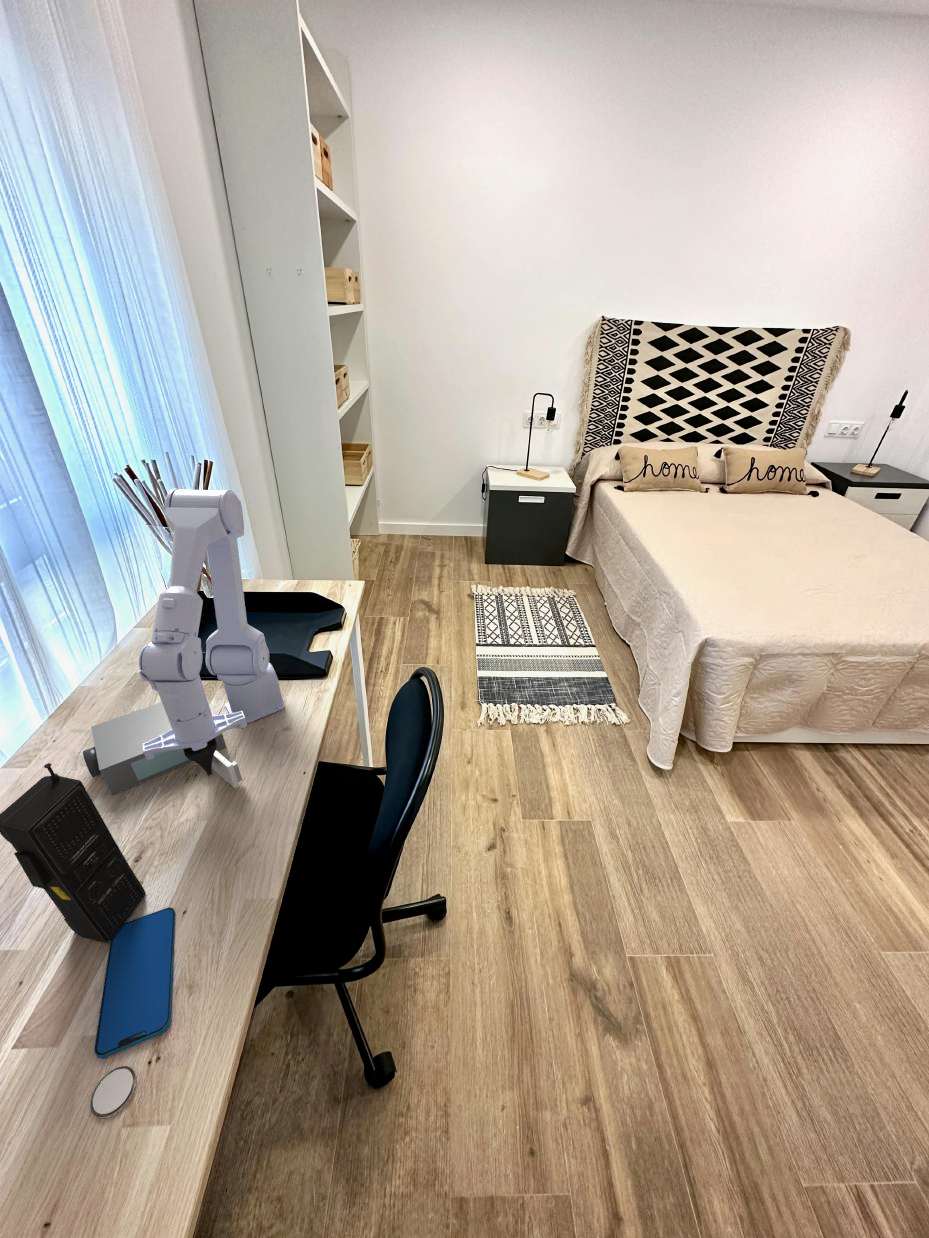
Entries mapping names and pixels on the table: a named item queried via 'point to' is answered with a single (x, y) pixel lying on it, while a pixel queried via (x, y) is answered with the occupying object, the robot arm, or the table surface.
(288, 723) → the table surface
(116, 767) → the camera housing
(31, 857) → the portable radio
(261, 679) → the robot arm
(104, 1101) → the white round disc
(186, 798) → the table surface
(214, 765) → the side door
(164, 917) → the smartphone
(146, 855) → the table surface
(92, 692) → the table surface
